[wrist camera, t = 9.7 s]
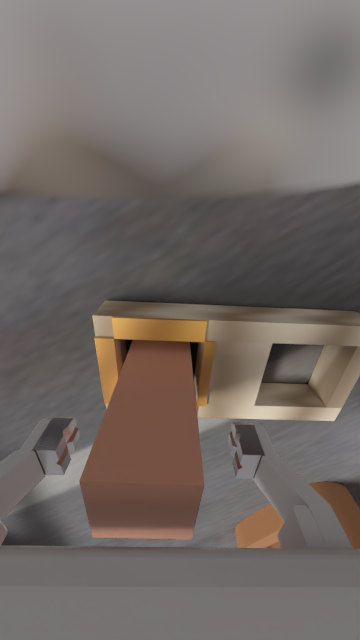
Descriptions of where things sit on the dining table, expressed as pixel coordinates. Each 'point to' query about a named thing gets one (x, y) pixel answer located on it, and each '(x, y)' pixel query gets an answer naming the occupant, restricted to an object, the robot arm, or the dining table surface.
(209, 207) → the dining table surface
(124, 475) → the terracotta peg
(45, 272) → the dining table surface
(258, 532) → the bracket
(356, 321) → the peg board
